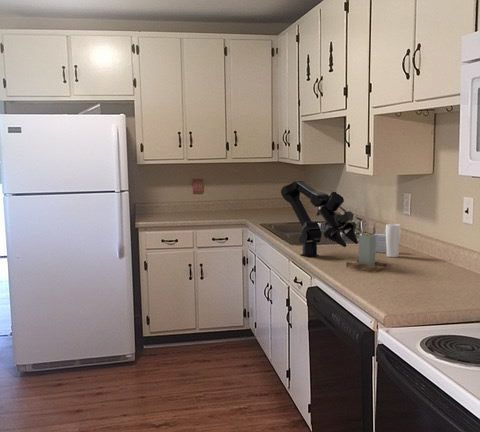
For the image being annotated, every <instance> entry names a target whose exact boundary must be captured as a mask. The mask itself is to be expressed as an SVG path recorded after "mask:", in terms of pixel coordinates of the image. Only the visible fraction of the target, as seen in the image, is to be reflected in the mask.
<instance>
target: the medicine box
mask: <svg viewBox="0 0 480 432" xmlns="http://www.w3.org/2000/svg"><path fill="white" fill-rule="evenodd" d="M373 235H376V244H375V253H379V254H387V249H386V233H385V234H384V233H374V234H373Z"/></svg>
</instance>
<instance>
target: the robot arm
mask: <svg viewBox="0 0 480 432" xmlns="http://www.w3.org/2000/svg"><path fill="white" fill-rule="evenodd" d="M280 194H281V196H282V198H283V200H284V201H286V202H287V203H289V204H290V205H291V208H292V209H293V211H294V213H295V216H296V217H297V220H298V221H299V223H300V225H301V235H300V236H299V237H298V240H299V244H302V253H300V254H299V255H300V256H303V257H307V258H313V257H319V256H320V254H318V246H317V243H321V239H322V233H323V237H324V238H325V239H328V240H330V241H332V242H334V243H336V244H338V245H340V246H342V247H344V248H346V247H347V243H346V242H345V240H344V239H343V236H342V235H341V233H342V234H344V236H345V237H346V238H347V239H349V240H350V241H351V242H353V244H355V245H357V244H359V240H358V238H357V235H356V228H357V227H358V226H357V225H358V224H357V223H356V222H355V221H353V220H354V216H355V214H354V213H353V212H352V211H350V210H349V211H346V212H345V213H344V214H343V213H342V214H338V213H336V211H338V210H339V208H340V207H341V206H342V205H343V203H344V202H345V199H344V197H343V196H342V195H341V194H339V193H337V192H336V191H332V192H331V193H330V195H329V194H328V193H326V192H322V191H318V190H316V189H315V188H314V187H311V185H308V184H307V183H305V181H303V180H295V181H292V182H291V183H290V184H287V185H284V186H283V187H282V188H281V190H280ZM301 194H302V195H303V196H305V197H307V198H308V199H309V202H310V203H311V204H312V206H313V207H315V208H319V207H320V209H317V212H316V216H317V217H320V216H321V217H322V218H323V220H324V221H325V226H328V227H327V229H326V230H324V231H323V232H322V230H321V229H322V228H321V227H320V226H319V223H318V222H316V221H312V220H311V218H310V216H309V214H308V212H307V211H306V208H305V207H304V205H303V202H302V201H301V199H300V198H301V197H300V196H301Z"/></svg>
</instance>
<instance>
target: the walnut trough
mask: <svg viewBox="0 0 480 432" xmlns="http://www.w3.org/2000/svg"><path fill="white" fill-rule="evenodd" d="M358 260H359V258H357V259H356V262H352V261H351V262H350V261H346V264H345V267H346V268H349V269H355V270H362V271H367V272H373V273H376V272H379V271H380V272H381V271H383V270H385V269H388V262H380V261H376V260H375V266H370V265H364V264H358Z"/></svg>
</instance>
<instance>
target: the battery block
mask: <svg viewBox="0 0 480 432" xmlns="http://www.w3.org/2000/svg"><path fill="white" fill-rule="evenodd" d="M358 235H359V236H358V259H359V260H358V264H364V265H370V266H375V261H376V252H375V244H376V235H374V234H370V233H367V232H365V233H364V234H358Z"/></svg>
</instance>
